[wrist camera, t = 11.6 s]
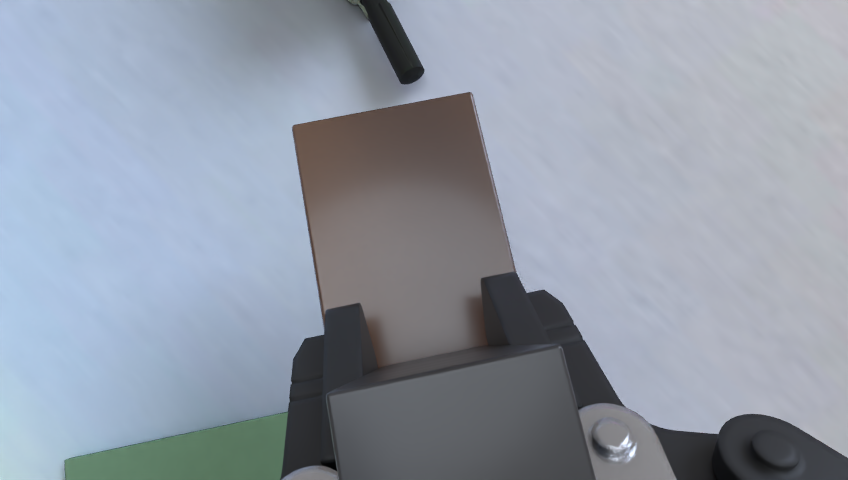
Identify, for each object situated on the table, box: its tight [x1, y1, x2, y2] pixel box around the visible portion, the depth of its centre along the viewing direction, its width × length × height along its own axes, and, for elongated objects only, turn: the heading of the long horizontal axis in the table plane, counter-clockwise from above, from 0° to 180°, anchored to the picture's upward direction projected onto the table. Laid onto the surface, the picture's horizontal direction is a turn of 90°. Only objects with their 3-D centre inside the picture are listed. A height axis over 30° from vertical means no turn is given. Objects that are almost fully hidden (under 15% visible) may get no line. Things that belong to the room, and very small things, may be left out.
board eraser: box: [292, 92, 596, 480], centre depth 10 cm, size 5×16×10 cm, turn 12°
